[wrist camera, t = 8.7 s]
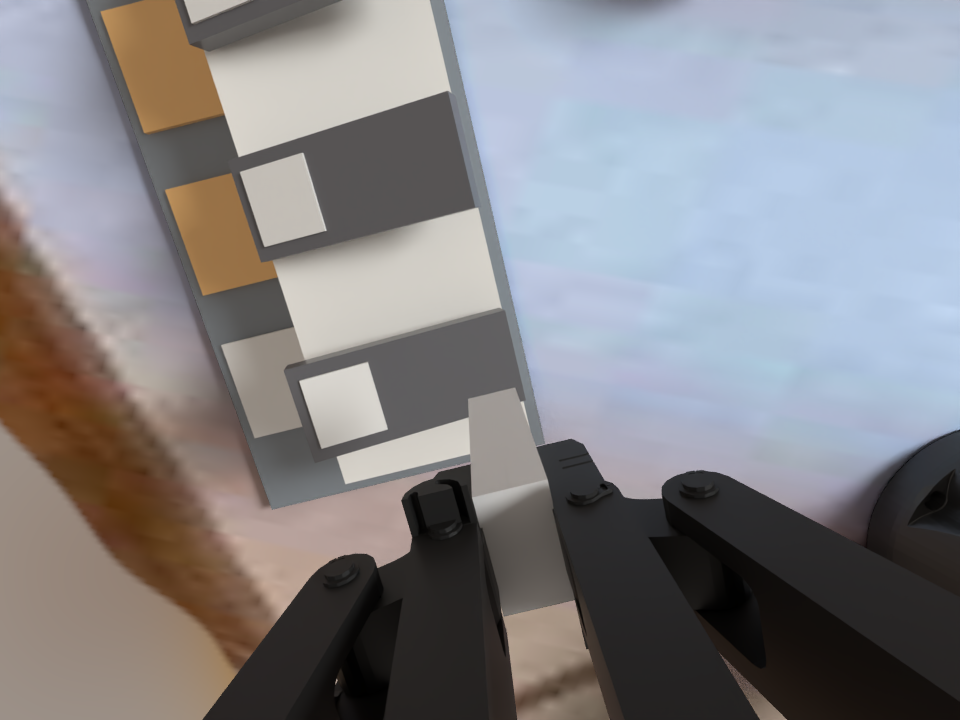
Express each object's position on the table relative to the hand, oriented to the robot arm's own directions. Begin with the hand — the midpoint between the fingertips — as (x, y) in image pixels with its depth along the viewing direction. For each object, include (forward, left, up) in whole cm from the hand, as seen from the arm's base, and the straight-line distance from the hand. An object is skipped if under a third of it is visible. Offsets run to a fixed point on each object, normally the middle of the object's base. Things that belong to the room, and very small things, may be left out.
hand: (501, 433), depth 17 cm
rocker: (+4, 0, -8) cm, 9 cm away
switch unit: (+7, -9, -18) cm, 21 cm away
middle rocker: (+4, -9, -8) cm, 13 cm away
